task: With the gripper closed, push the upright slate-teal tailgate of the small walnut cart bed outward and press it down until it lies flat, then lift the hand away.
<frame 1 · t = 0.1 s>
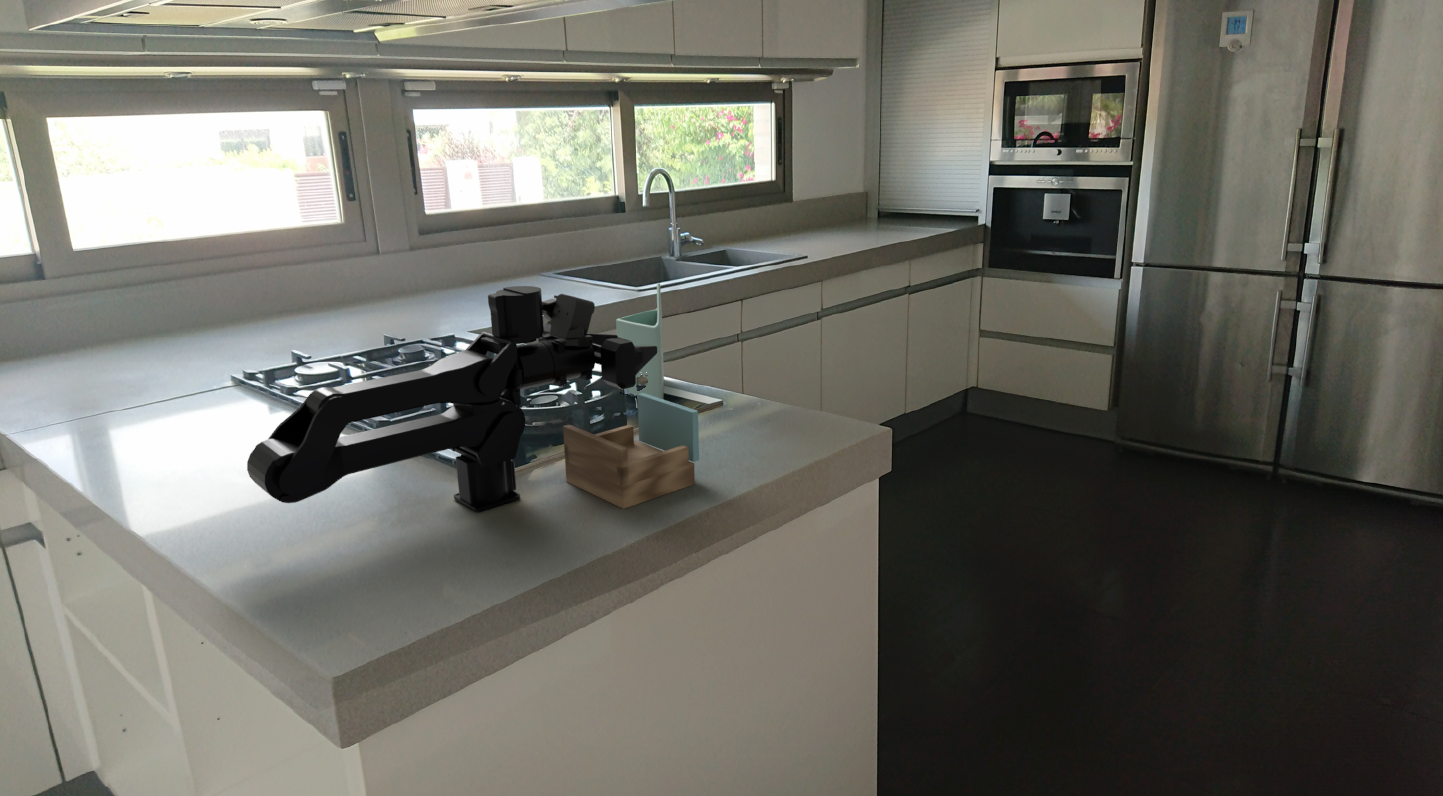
hand: (636, 343, 136), 17 cm above the countertop, tool horizontal, fingers open, 9 cm apart
cart bed: (630, 482, 130), on the countertop
tailgate: (669, 425, 132), point 6 cm above the countertop, hinge at 0.0°
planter: (641, 393, 171), on the countertop
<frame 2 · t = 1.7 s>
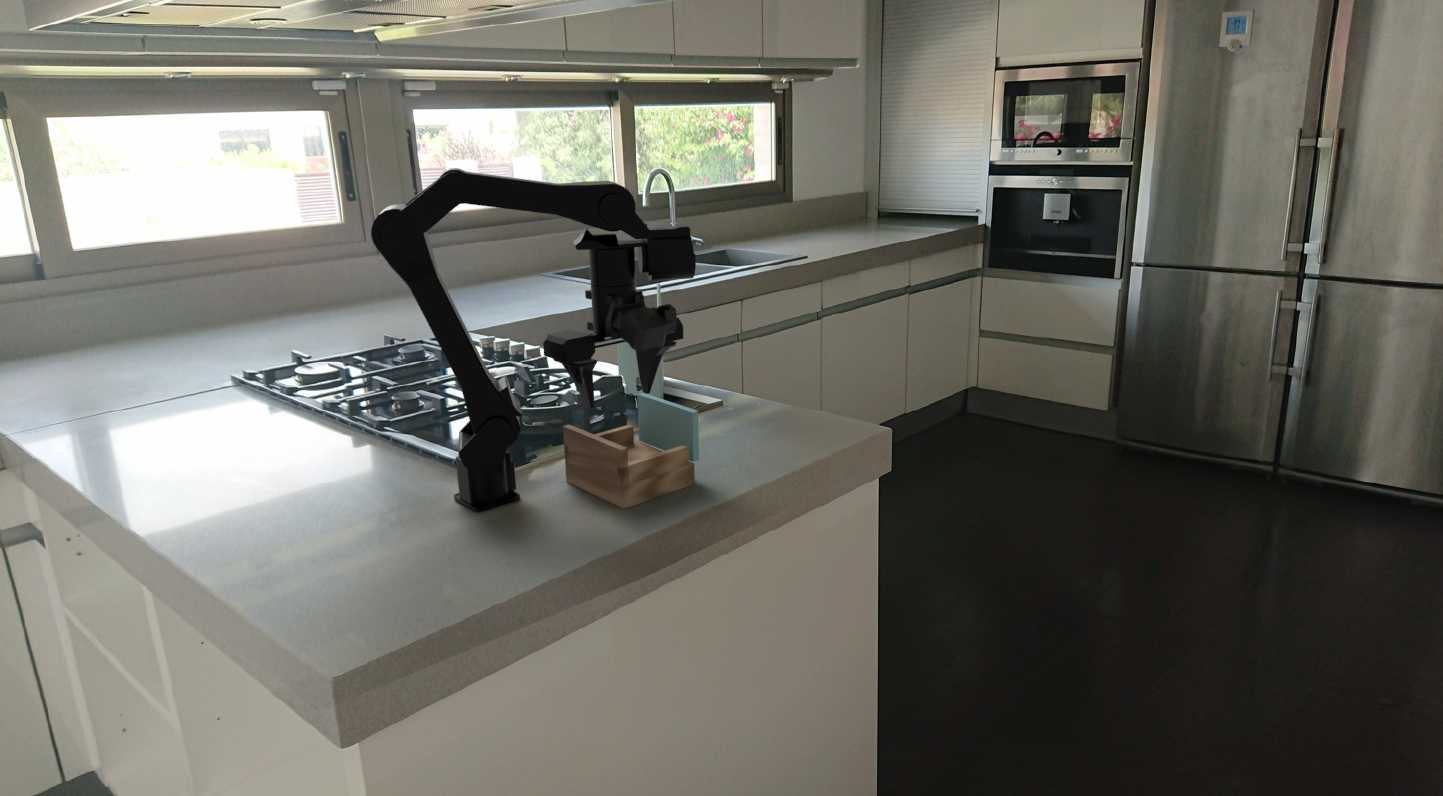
hand: (618, 400, 125), 12 cm above the countertop, tool pointing down, fingers open, 9 cm apart
nothing on the countertop moved.
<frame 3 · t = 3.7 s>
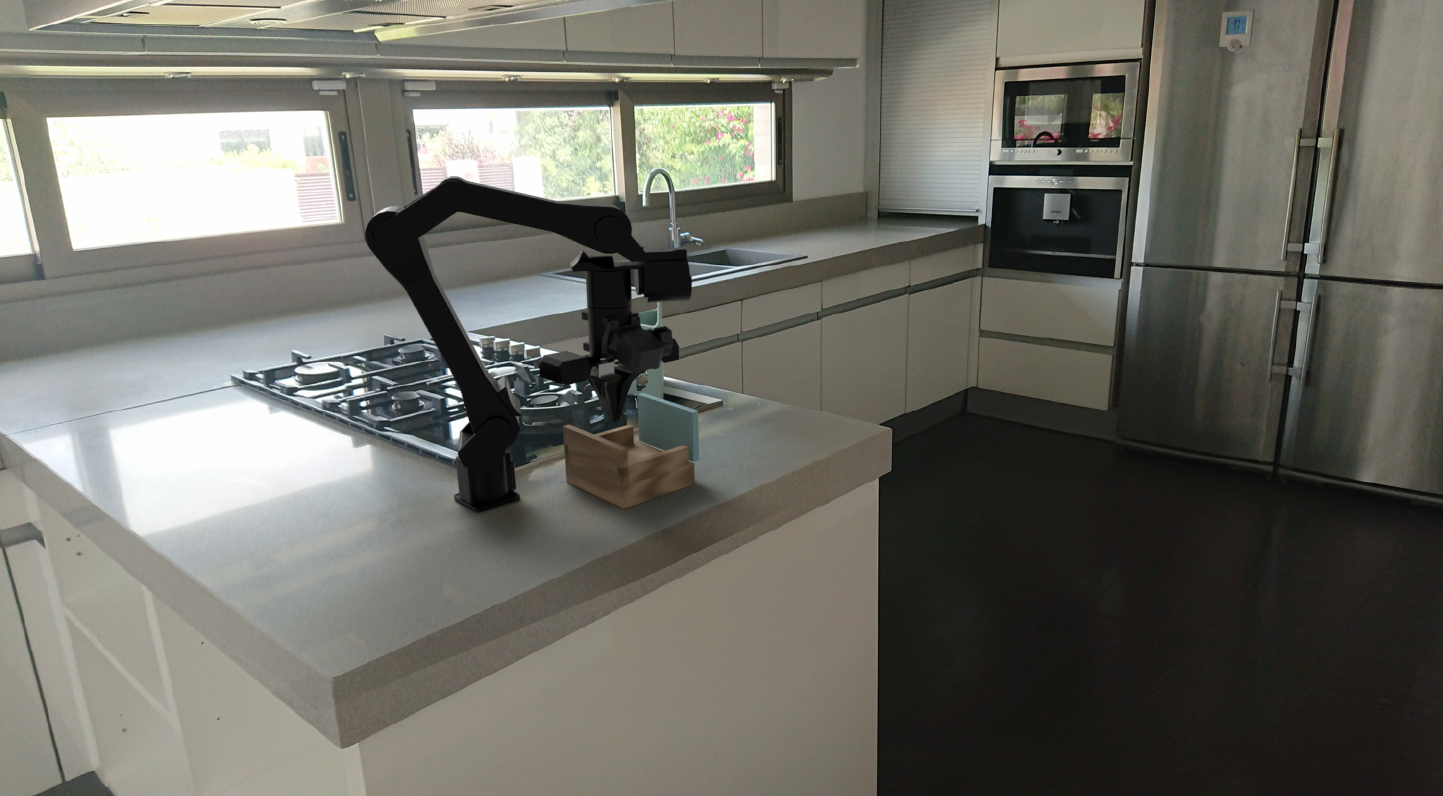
hand: (614, 420, 126), 9 cm above the countertop, tool pointing down, fingers closed
nothing on the countertop moved.
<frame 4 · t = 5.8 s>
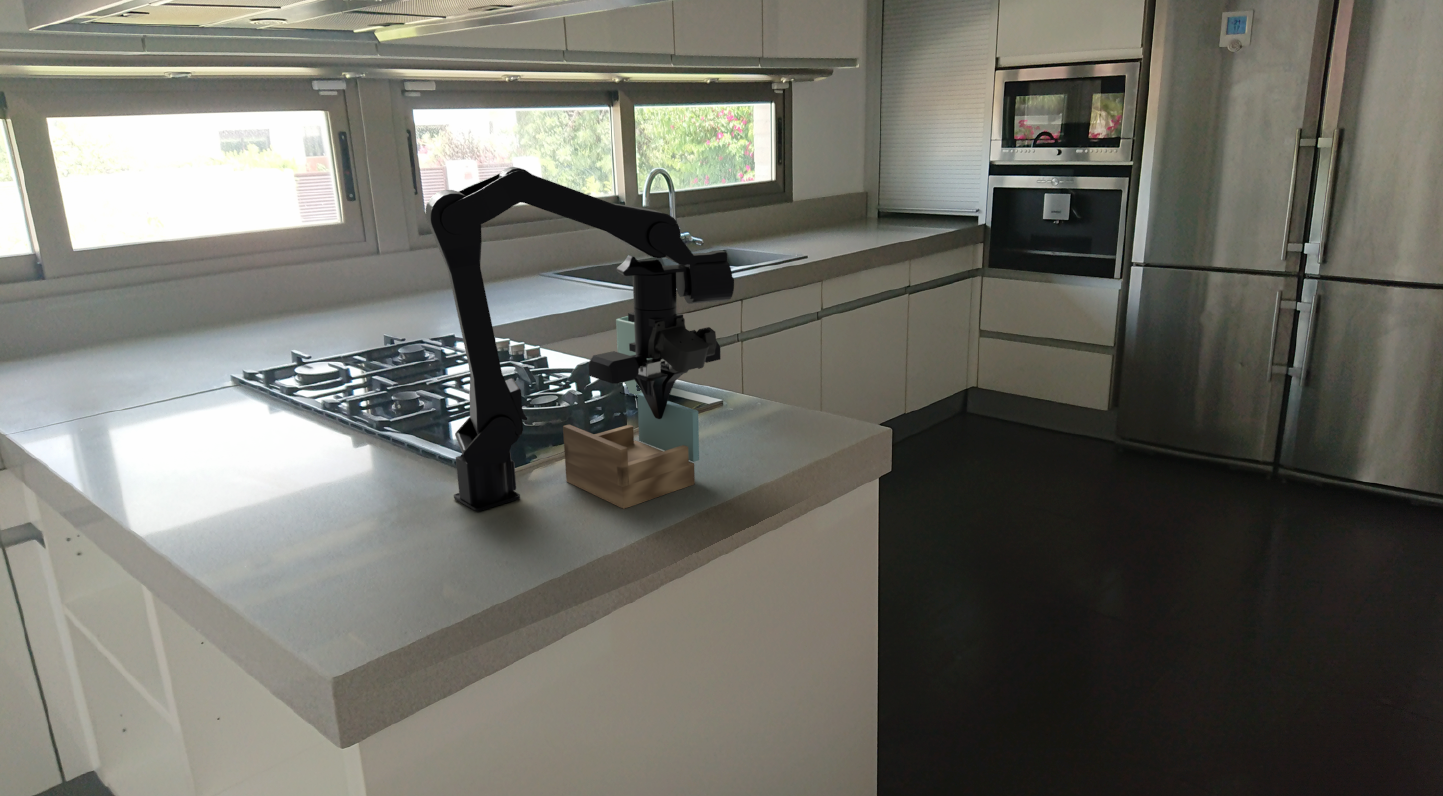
hand: (658, 418, 131), 8 cm above the countertop, tool pointing down, fingers closed
tailgate: (669, 425, 132), point 6 cm above the countertop, hinge at 0.3°, touching gripper
everything else where it was.
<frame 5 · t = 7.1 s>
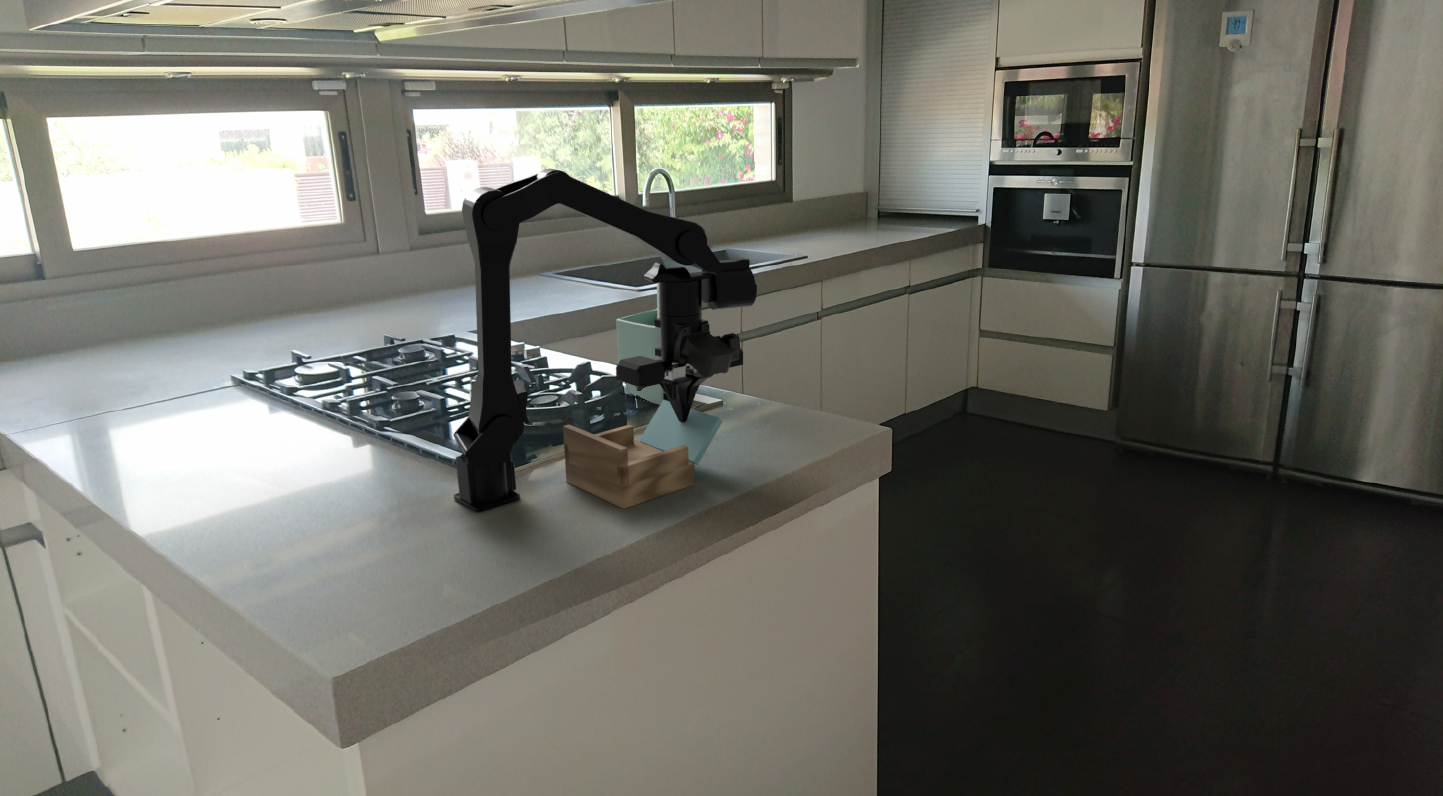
hand: (682, 421, 134), 7 cm above the countertop, tool pointing down, fingers closed, pressing on tailgate
tailgate: (681, 432, 134), point 5 cm above the countertop, hinge at 42.3°, touching gripper
everything else where it was.
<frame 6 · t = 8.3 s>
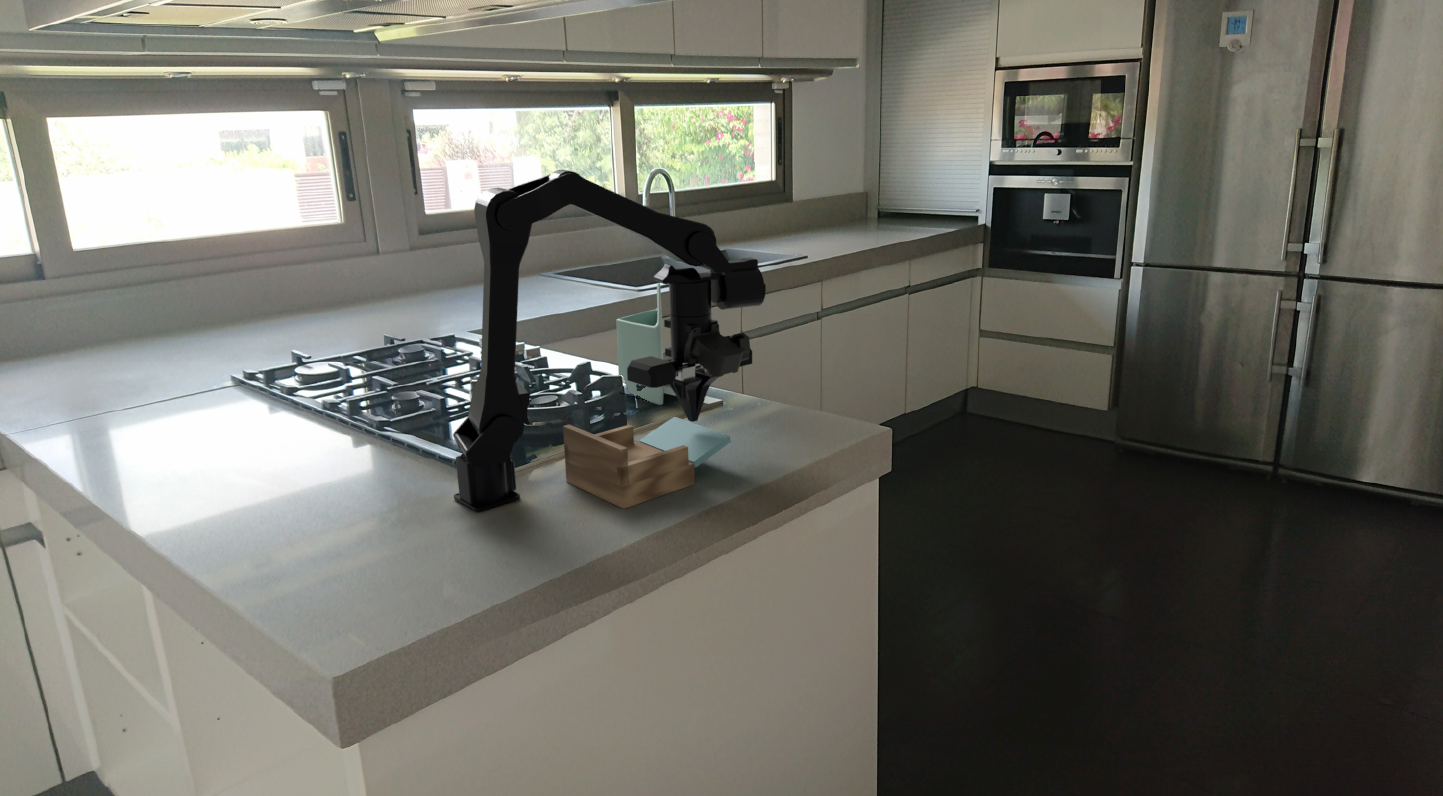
hand: (692, 420, 135), 6 cm above the countertop, tool pointing down, fingers closed
tailgate: (685, 443, 135), point 3 cm above the countertop, hinge at 72.4°
everything else where it was.
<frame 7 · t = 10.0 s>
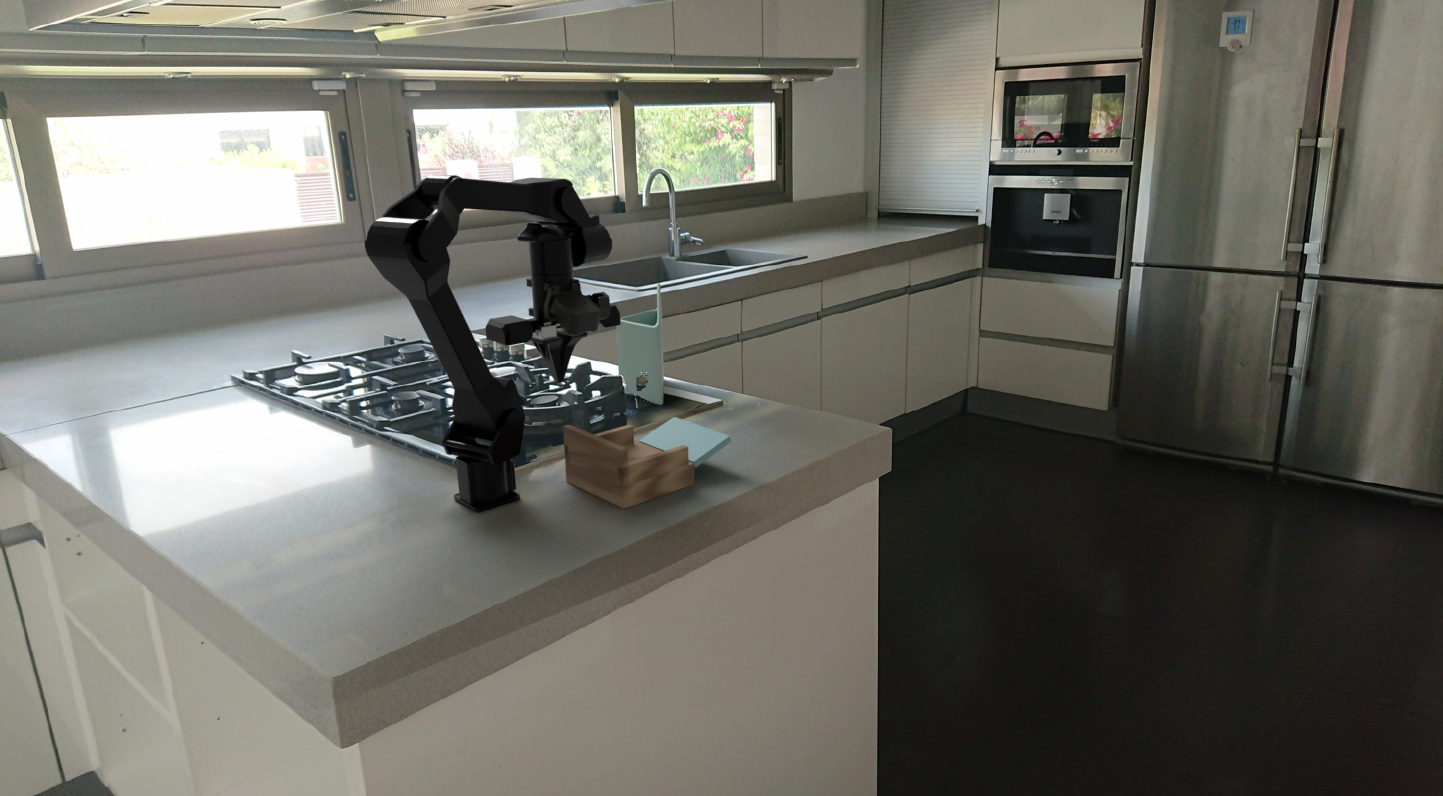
hand: (558, 382, 134), 12 cm above the countertop, tool pointing down, fingers closed
nothing on the countertop moved.
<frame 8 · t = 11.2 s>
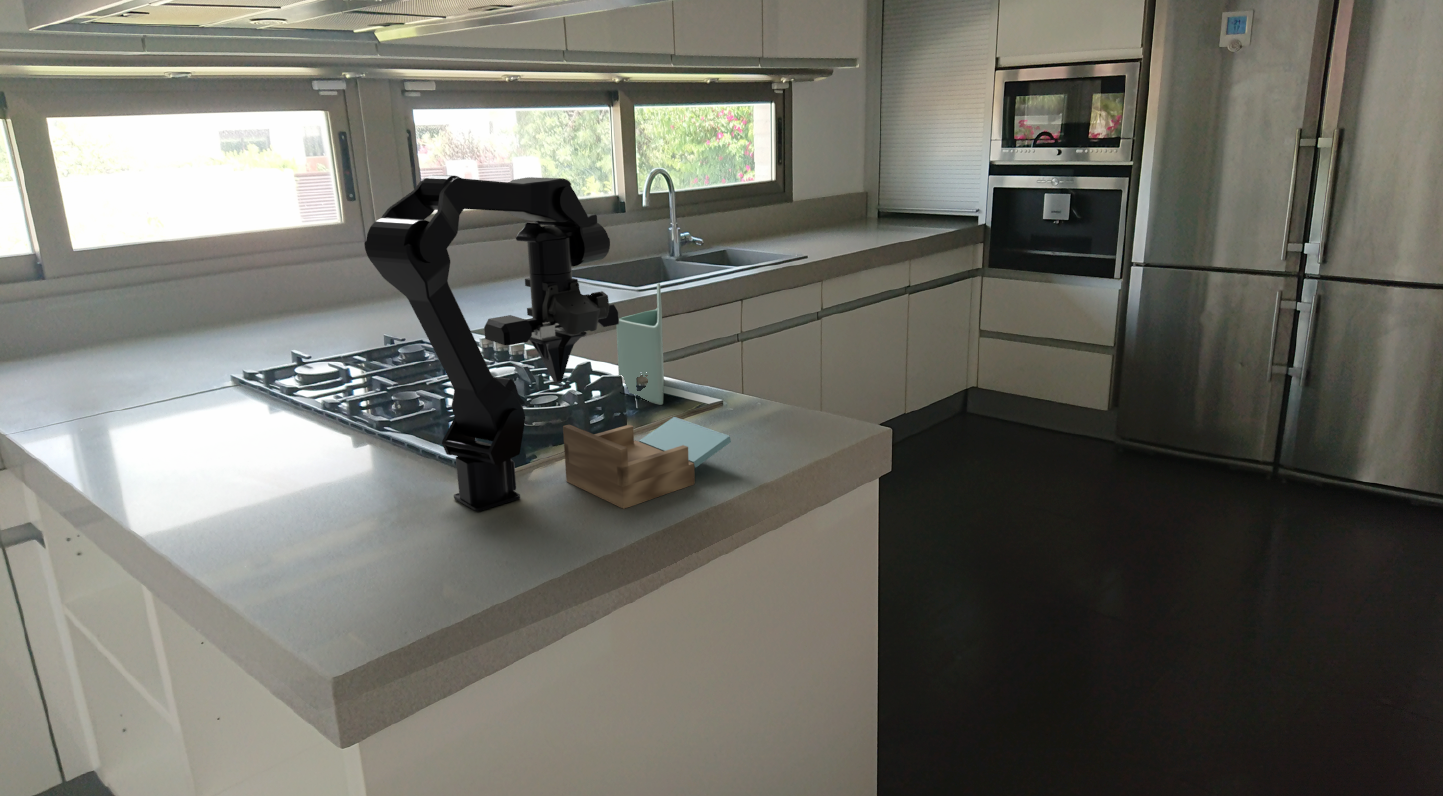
hand: (557, 381, 134), 12 cm above the countertop, tool pointing down, fingers closed
nothing on the countertop moved.
at the end: tailgate at +73° (first picture: +0°); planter moved 0.3 cm from its start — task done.
